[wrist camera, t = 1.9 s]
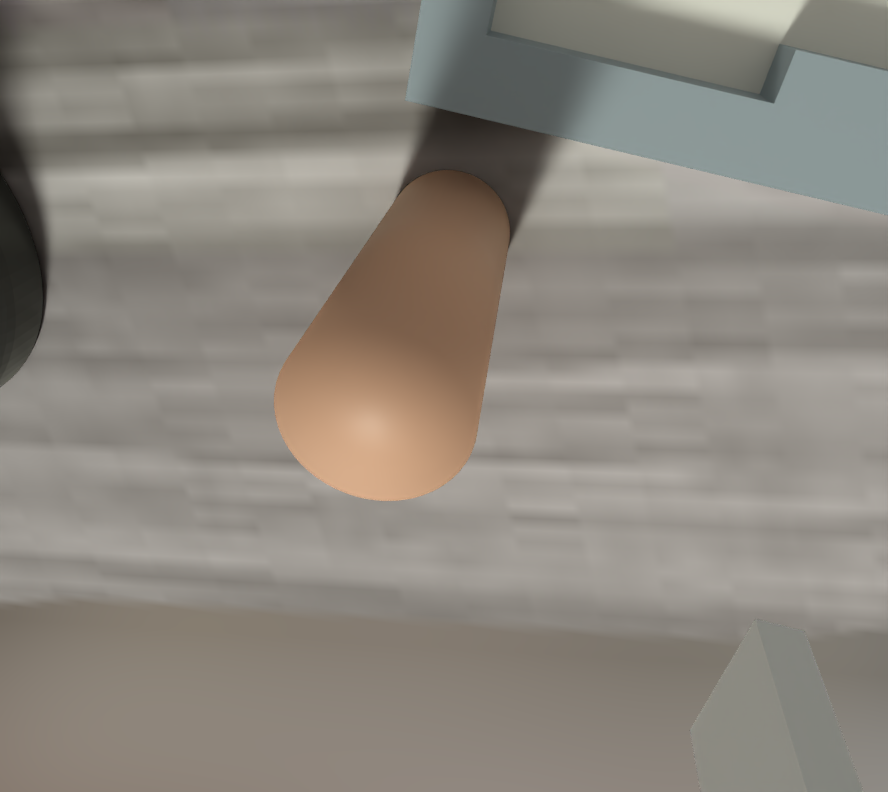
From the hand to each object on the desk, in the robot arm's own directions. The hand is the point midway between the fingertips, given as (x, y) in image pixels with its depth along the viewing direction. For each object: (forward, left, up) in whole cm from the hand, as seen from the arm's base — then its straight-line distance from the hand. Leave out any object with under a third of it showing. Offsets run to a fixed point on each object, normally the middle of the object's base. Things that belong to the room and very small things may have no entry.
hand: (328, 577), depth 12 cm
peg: (0, 0, -18) cm, 18 cm away
